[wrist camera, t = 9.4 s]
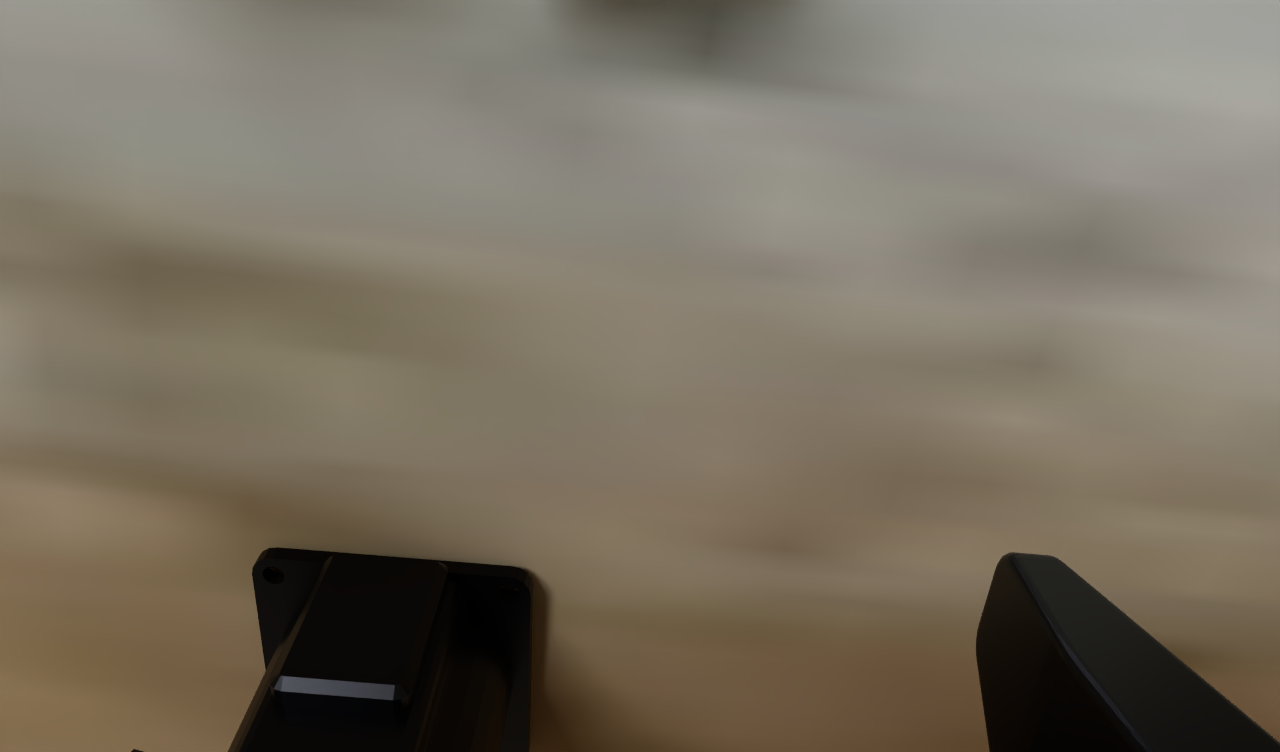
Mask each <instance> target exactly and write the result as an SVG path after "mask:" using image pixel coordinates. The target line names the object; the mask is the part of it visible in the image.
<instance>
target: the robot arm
mask: <svg viewBox="0 0 1280 752" xmlns="http://www.w3.org/2000/svg"><path fill="white" fill-rule="evenodd" d="M270 567H275V568H278V569H280V570H281V571H282V572H283V573H279V572H275V571H274V570H272V569H271V568H270ZM252 576H253V583H254V590H255V598H256V605H257V612H258V619H259V626H260V633H261V640H262V647H263V654H264V661H265V668H266V672H265V674H264V676H263V678H262V680H261V682H260V685H259V687H258V689H257V691H256V693H255V695H254V697H253V699H252V701H251V704H250V706H249V708H248V710H247V712H246V714H245V716H244V718H243V720H242V722H241V725H240V727H239V729H238V731H237V733H236V735H235V737H234V739H233V741H232V744H231V746H230V748H229V750H228V752H529V749H530V703H531V655H532V608H533V583H532V578H531V577H530V576H529V574H528V573H527V572H525V571H524V570H522V569H520V568H517V567H513V566H501V565H489V564H476V563H464V562H451V561H439V560H426V559H414V558H401V557H389V556H376V555H364V554H351V553H339V552H326V551H314V550H301V549H289V548H269V549H267V550H265V551H263V552H262V553H261V554H260V556H259V557H258V559H257V561H256V563H255V564H254V566H253V571H252ZM503 586H512V587H515V588H516V589H518V591H508V590H506V589H505V588H503ZM976 657H977V665H978V672H979V679H980V686H981V693H982V700H983V708H984V715H985V722H986V729H987V736H988V743H989V750H990V752H1280V743H1279V742H1278V741H1277V740H1276V739H1275V738H1273V737H1272V736H1271V735H1270V734H1269V733H1267V732H1266V731H1265V730H1264V729H1263V728H1261V727H1260V726H1259V725H1258V724H1257V723H1255V722H1254V721H1253V720H1252V719H1251V718H1249V717H1248V716H1247V715H1246V714H1245V713H1243V712H1242V711H1241V710H1240V709H1239V708H1237V707H1236V706H1235V705H1234V704H1233V703H1231V702H1230V701H1229V700H1228V699H1227V698H1225V697H1224V696H1223V695H1222V694H1221V693H1219V692H1218V691H1217V690H1216V689H1215V688H1213V687H1212V686H1211V685H1210V684H1209V683H1207V682H1206V681H1205V680H1204V679H1203V678H1201V677H1200V676H1199V675H1198V674H1197V673H1195V672H1194V671H1193V670H1192V669H1191V668H1189V667H1188V666H1187V665H1186V664H1185V663H1183V662H1182V661H1181V660H1180V659H1179V658H1177V657H1176V656H1175V655H1174V654H1173V653H1171V652H1170V651H1169V650H1168V649H1167V648H1165V647H1164V646H1163V645H1162V644H1161V643H1159V642H1158V641H1157V640H1156V639H1155V638H1153V637H1152V636H1151V635H1150V634H1149V633H1147V632H1146V631H1145V630H1144V629H1143V628H1141V627H1140V626H1139V625H1138V624H1137V623H1135V622H1134V621H1133V620H1132V619H1131V618H1129V617H1128V616H1127V615H1126V614H1125V613H1123V612H1122V611H1121V610H1120V609H1119V608H1117V607H1116V606H1115V605H1114V604H1113V603H1111V602H1110V601H1109V600H1108V599H1107V598H1105V597H1104V596H1103V595H1102V594H1101V593H1099V592H1098V591H1097V590H1096V589H1095V588H1093V587H1092V586H1091V585H1090V584H1089V583H1087V582H1086V581H1085V580H1084V579H1083V578H1081V577H1080V576H1079V575H1078V574H1077V573H1075V572H1074V571H1073V570H1072V569H1071V568H1069V567H1068V566H1067V565H1066V564H1065V563H1063V562H1062V561H1061V560H1059V559H1058V558H1056V557H1053V556H1048V555H1037V554H1025V553H1013V552H1012V553H1008V554H1006V555H1004V556H1003V557H1002V558H1001V559H1000V561H999V562H998V564H997V567H996V569H995V573H994V576H993V579H992V583H991V586H990V589H989V593H988V596H987V599H986V603H985V606H984V609H983V613H982V616H981V619H980V623H979V626H978V630H977V637H976ZM132 752H143V751H139V750H135V749H133V751H132Z"/></svg>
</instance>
